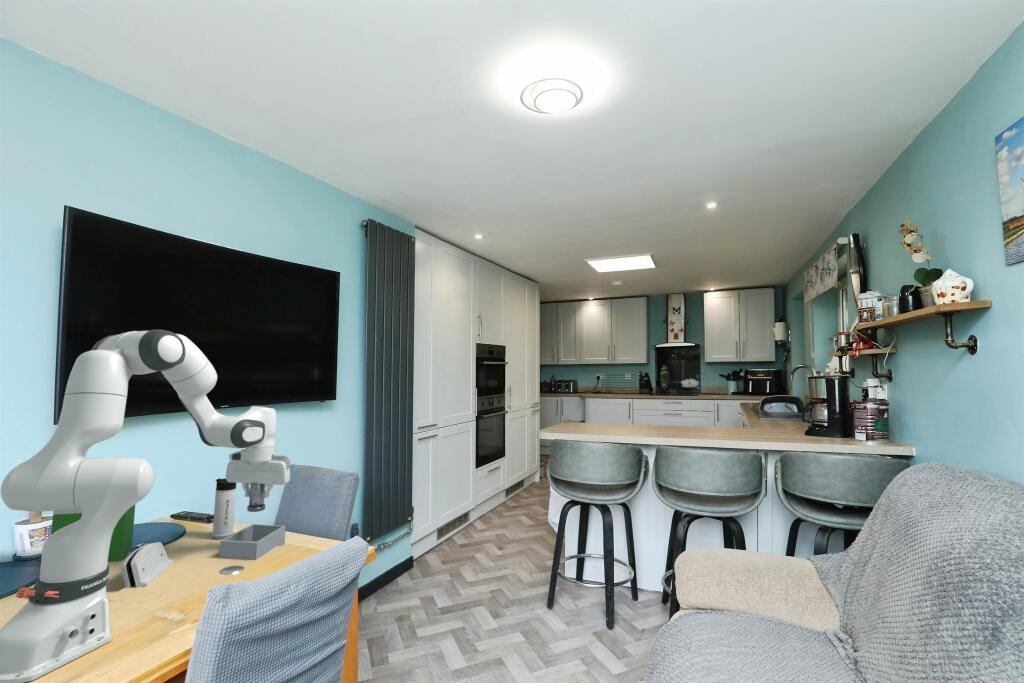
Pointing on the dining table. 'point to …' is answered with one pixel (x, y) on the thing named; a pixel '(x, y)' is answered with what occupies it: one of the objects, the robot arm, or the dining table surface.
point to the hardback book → (120, 535)
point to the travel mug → (224, 509)
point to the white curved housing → (145, 565)
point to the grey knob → (256, 498)
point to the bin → (252, 542)
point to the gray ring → (231, 570)
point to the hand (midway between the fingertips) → (256, 496)
